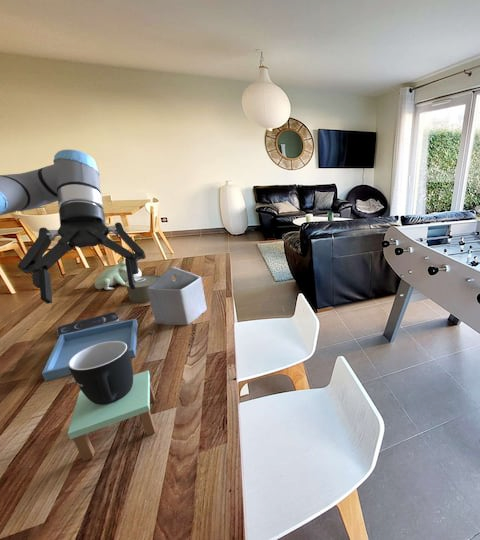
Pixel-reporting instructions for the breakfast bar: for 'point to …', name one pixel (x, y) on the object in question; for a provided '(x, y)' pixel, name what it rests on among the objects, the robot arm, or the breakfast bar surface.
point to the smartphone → (88, 323)
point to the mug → (103, 371)
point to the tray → (88, 345)
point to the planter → (177, 297)
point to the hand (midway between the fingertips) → (92, 293)
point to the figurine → (114, 276)
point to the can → (140, 288)
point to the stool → (111, 413)
